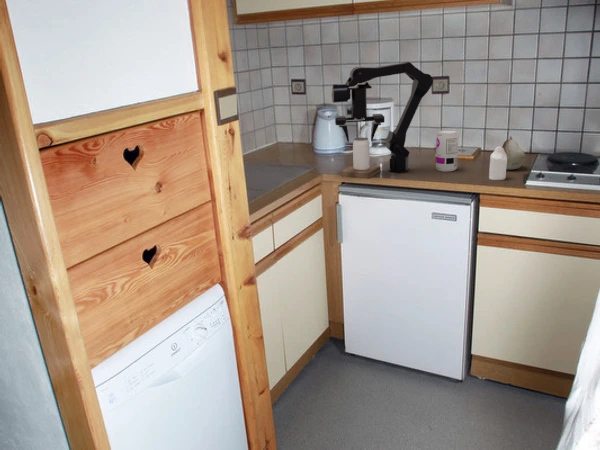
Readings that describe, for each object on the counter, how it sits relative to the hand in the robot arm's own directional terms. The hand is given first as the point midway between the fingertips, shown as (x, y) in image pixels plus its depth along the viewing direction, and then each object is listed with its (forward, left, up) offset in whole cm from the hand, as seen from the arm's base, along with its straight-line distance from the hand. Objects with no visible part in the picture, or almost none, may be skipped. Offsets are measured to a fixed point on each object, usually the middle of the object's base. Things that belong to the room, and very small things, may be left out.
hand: (359, 141), depth 214 cm
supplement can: (-30, -16, -13) cm, 36 cm away
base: (0, 0, -13) cm, 13 cm away
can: (-1, 0, -11) cm, 11 cm away
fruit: (-53, -24, -13) cm, 60 cm away
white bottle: (-51, -8, -13) cm, 53 cm away
